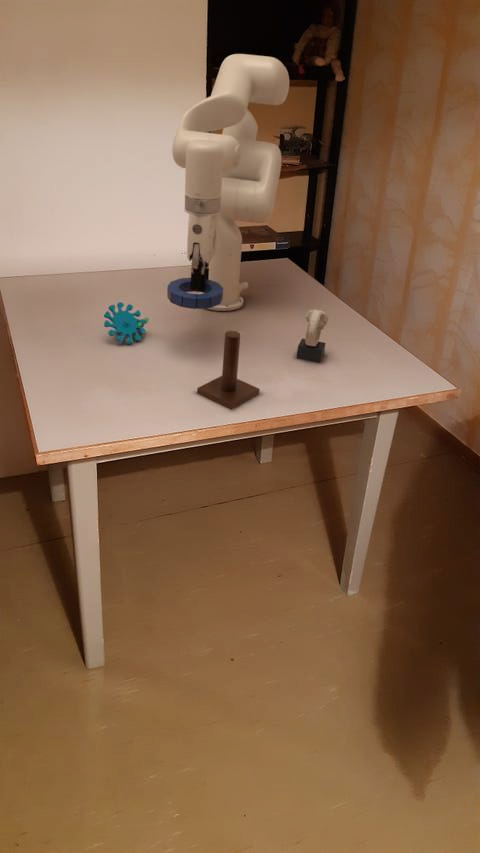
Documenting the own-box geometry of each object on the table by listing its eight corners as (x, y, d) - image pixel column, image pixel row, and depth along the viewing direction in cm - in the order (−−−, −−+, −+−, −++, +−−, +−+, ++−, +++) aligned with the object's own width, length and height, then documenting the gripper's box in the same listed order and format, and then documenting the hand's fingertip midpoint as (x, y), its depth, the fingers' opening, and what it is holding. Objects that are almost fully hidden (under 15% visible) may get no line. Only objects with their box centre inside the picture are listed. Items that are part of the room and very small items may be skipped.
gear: (111, 343, 148) (101, 301, 149) (101, 352, 153) (92, 312, 154) (155, 340, 154) (145, 300, 156) (145, 350, 159) (135, 311, 160)
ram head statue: (325, 351, 156) (332, 307, 150) (318, 366, 150) (325, 320, 144) (301, 347, 157) (307, 303, 151) (294, 361, 151) (300, 315, 145)
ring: (193, 283, 153) (193, 273, 152) (232, 298, 148) (233, 288, 146) (156, 296, 145) (156, 286, 144) (197, 313, 140) (197, 302, 138)
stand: (225, 378, 141) (229, 320, 134) (259, 393, 137) (265, 334, 130) (197, 393, 135) (199, 333, 128) (231, 409, 131) (236, 348, 124)
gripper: (212, 217, 133) (208, 303, 143) (226, 196, 146) (222, 277, 156) (176, 212, 133) (174, 299, 144) (193, 192, 147) (190, 273, 157)
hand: (199, 286), depth 150 cm, fingers closed on ring, 2 cm apart
